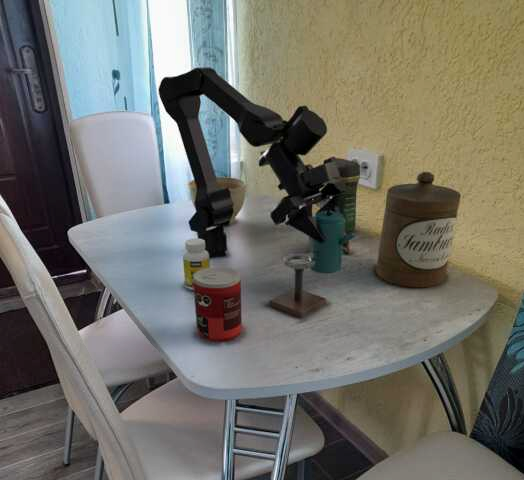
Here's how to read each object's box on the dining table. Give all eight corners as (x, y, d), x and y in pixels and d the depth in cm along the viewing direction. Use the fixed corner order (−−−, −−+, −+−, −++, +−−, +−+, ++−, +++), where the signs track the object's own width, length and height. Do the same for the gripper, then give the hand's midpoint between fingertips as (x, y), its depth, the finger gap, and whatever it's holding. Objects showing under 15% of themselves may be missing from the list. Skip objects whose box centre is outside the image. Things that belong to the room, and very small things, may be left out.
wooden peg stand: (294, 292, 104) (295, 254, 100) (326, 303, 100) (329, 263, 95) (269, 305, 99) (269, 265, 95) (301, 318, 95) (303, 276, 90)
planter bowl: (245, 230, 139) (245, 190, 133) (187, 230, 139) (184, 189, 133) (248, 213, 152) (247, 176, 147) (194, 213, 153) (192, 176, 147)
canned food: (197, 323, 93) (193, 267, 87) (240, 321, 94) (239, 265, 88) (196, 344, 86) (191, 285, 81) (242, 342, 87) (241, 283, 81)
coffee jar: (359, 231, 138) (367, 160, 128) (338, 237, 134) (344, 164, 124) (336, 223, 144) (341, 154, 135) (314, 228, 141) (318, 158, 131)
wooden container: (401, 292, 104) (418, 183, 93) (363, 267, 116) (374, 167, 105) (459, 282, 109) (482, 177, 98) (417, 258, 121) (433, 162, 109)
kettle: (276, 280, 97) (277, 220, 91) (321, 259, 107) (325, 203, 100) (315, 294, 92) (319, 231, 86) (358, 270, 102) (365, 212, 95)
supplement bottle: (190, 293, 104) (186, 247, 99) (181, 283, 108) (177, 239, 103) (214, 288, 106) (212, 243, 101) (205, 278, 110) (202, 235, 105)
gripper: (284, 150, 87) (332, 226, 86) (343, 137, 99) (386, 204, 98) (250, 189, 95) (294, 258, 95) (309, 172, 107) (348, 234, 107)
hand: (333, 237), depth 99 cm, fingers closed on kettle, 6 cm apart
